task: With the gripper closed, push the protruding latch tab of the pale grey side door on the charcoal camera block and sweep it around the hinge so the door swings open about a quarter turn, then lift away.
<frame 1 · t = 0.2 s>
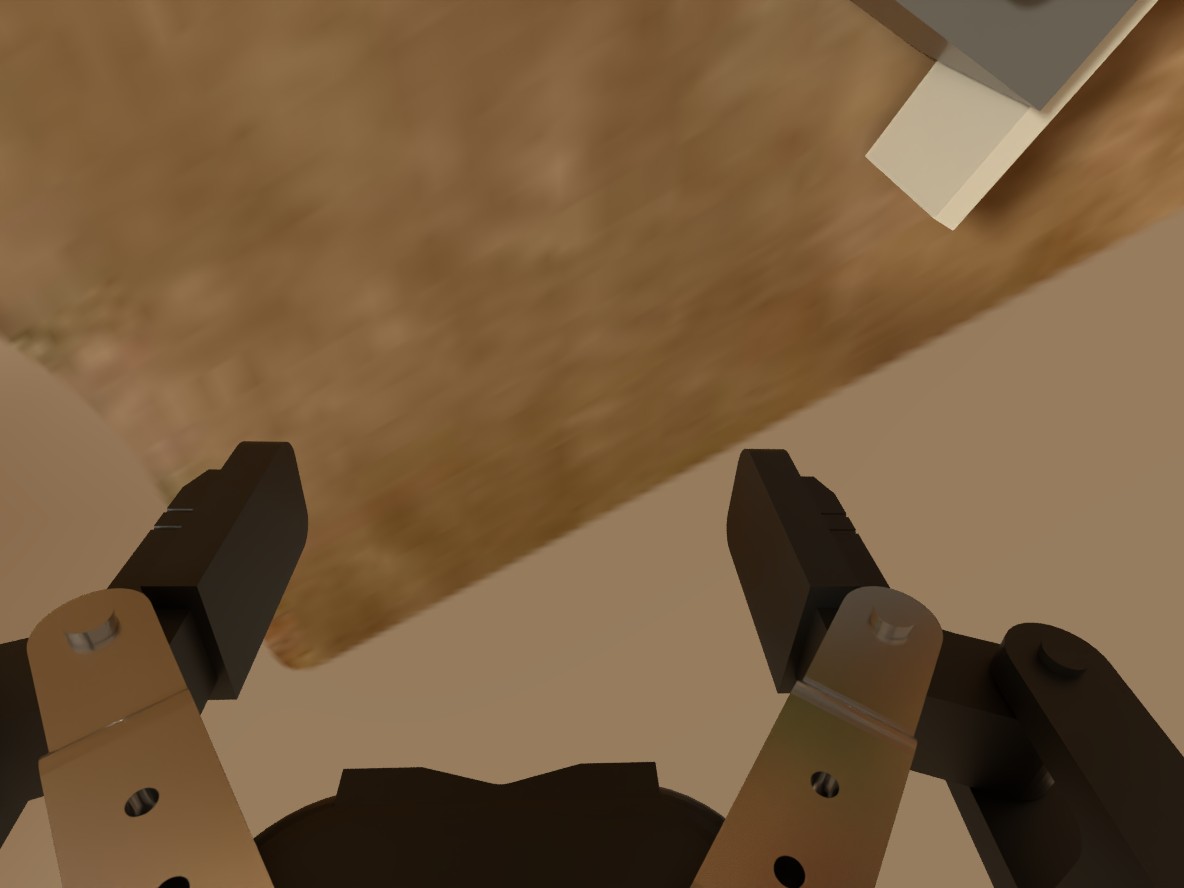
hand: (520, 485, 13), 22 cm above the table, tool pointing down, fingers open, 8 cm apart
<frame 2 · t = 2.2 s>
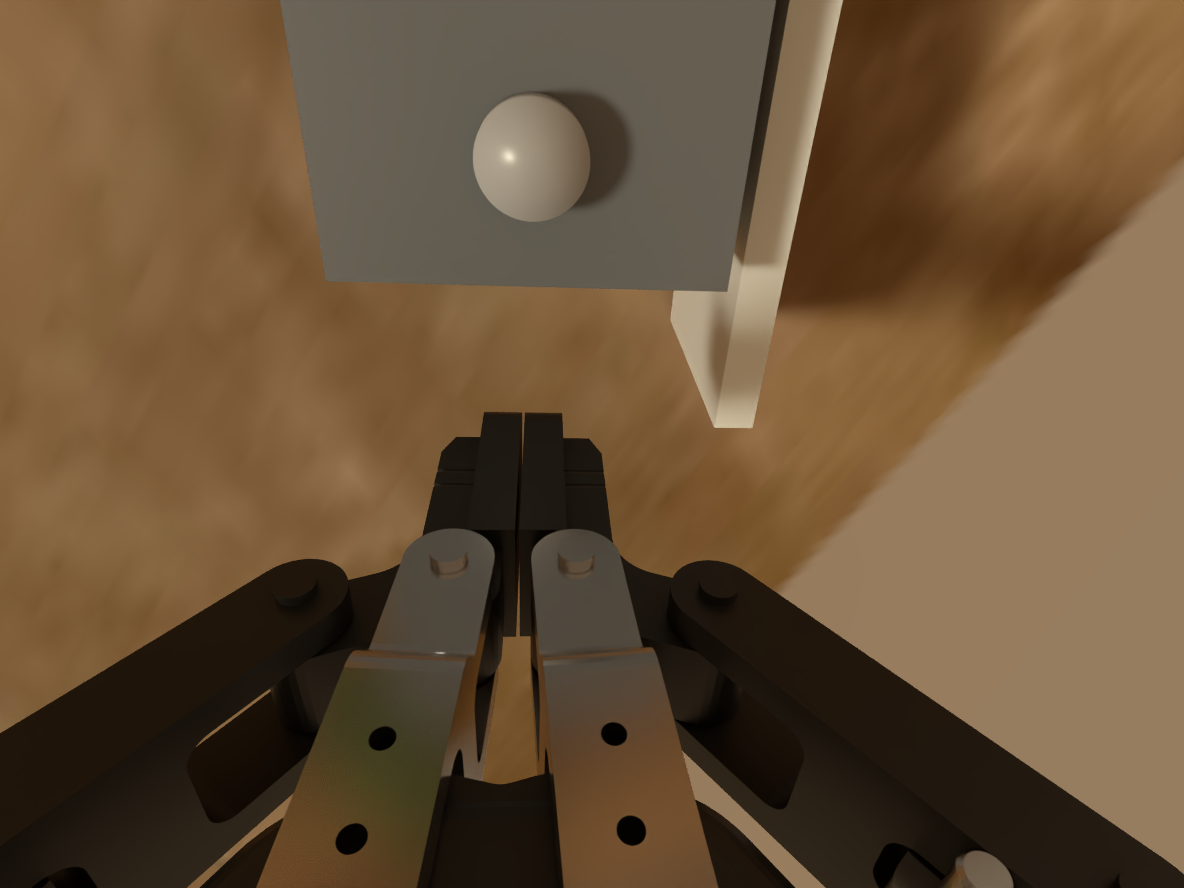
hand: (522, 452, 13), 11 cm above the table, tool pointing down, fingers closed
side door: (767, 44, 16), point 4 cm above the table, hinge at 0.0°
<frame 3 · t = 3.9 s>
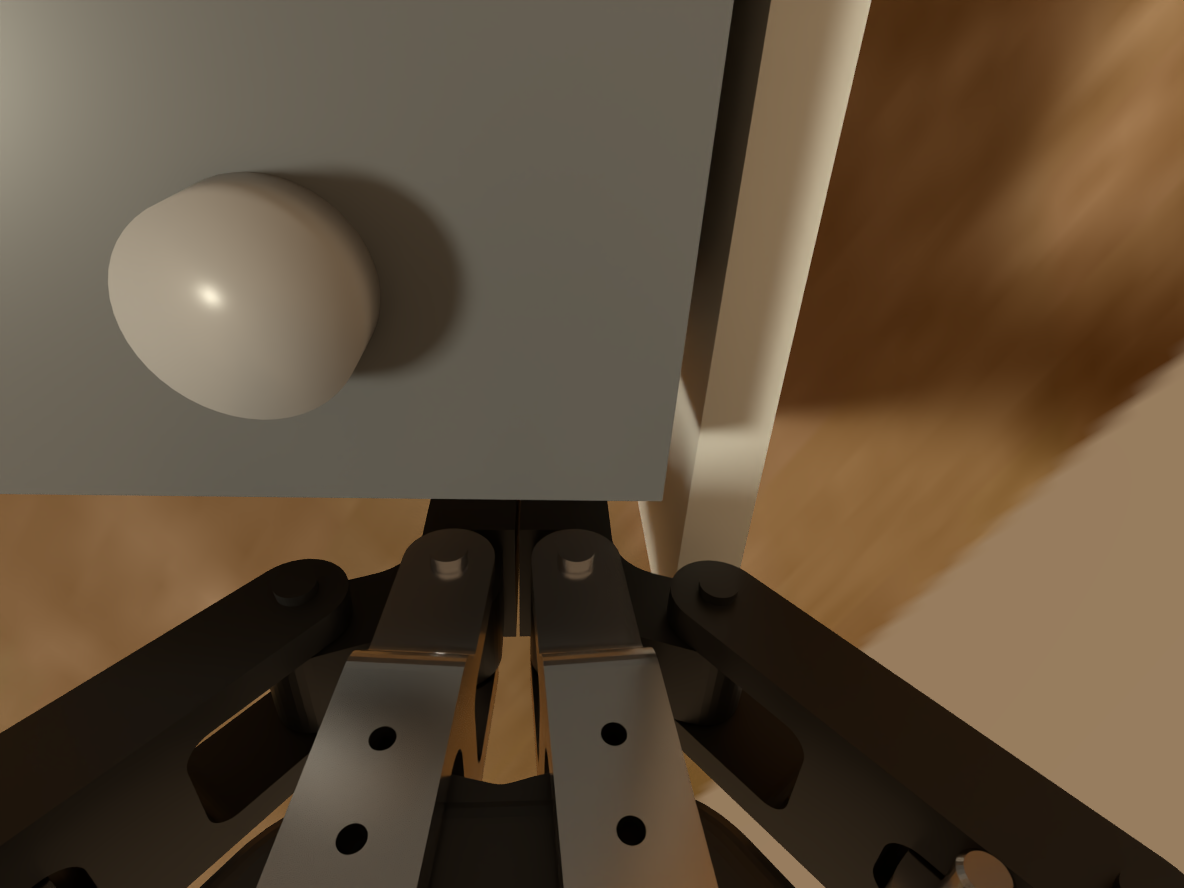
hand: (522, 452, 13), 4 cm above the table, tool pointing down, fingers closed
side door: (744, 69, 10), point 4 cm above the table, hinge at 0.2°, touching gripper
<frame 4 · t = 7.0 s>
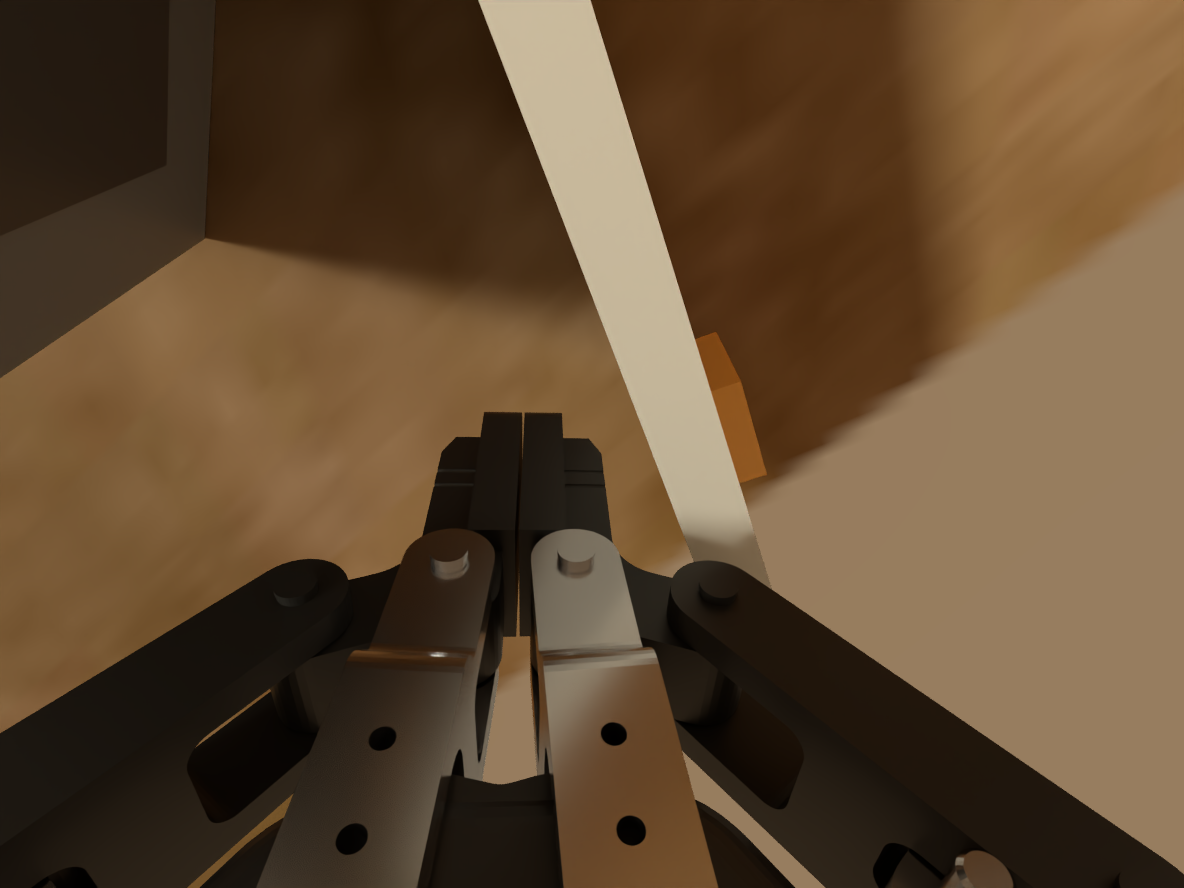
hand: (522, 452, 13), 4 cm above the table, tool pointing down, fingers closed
side door: (575, 50, 10), point 4 cm above the table, hinge at 39.1°, touching gripper
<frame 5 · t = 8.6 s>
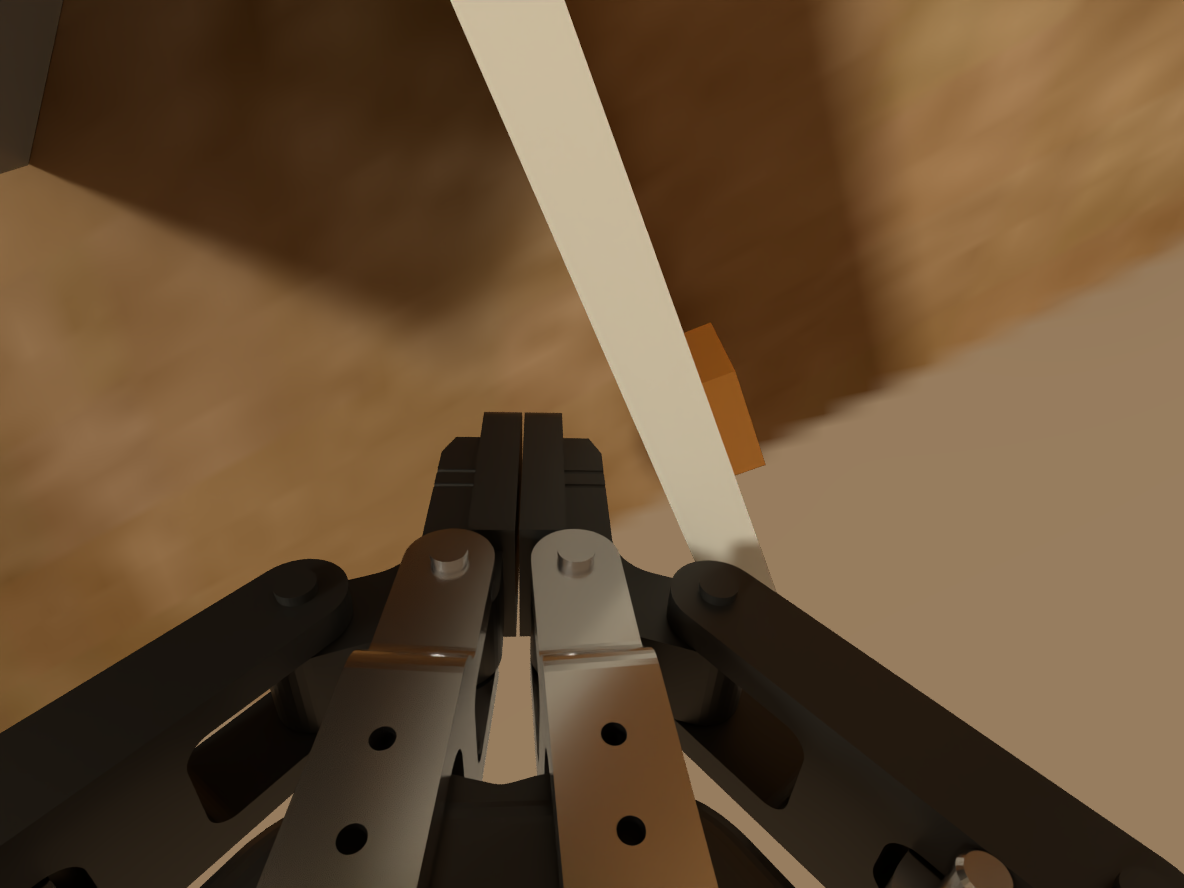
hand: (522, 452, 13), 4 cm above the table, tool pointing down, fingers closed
side door: (555, 42, 10), point 4 cm above the table, hinge at 55.0°, touching gripper
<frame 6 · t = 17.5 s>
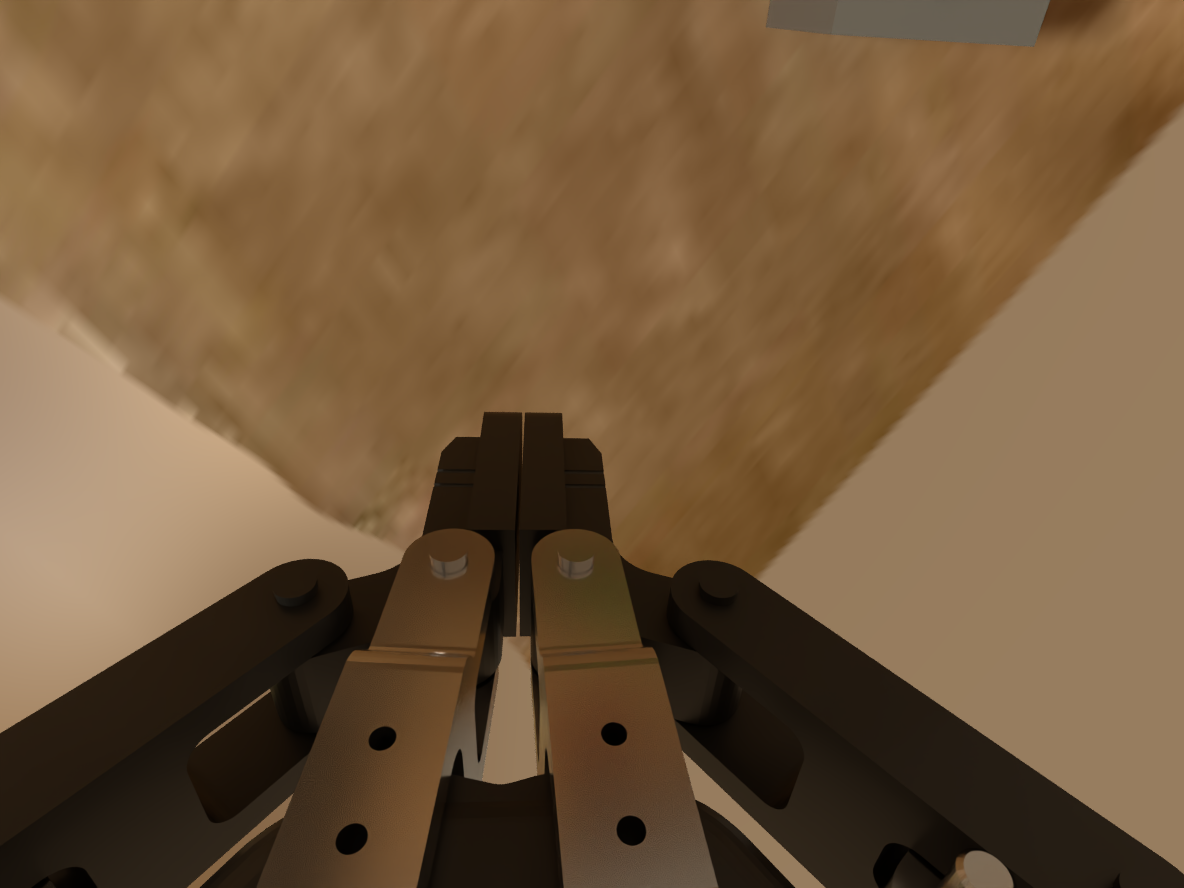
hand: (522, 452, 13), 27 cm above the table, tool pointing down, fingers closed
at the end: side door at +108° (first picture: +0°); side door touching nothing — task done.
